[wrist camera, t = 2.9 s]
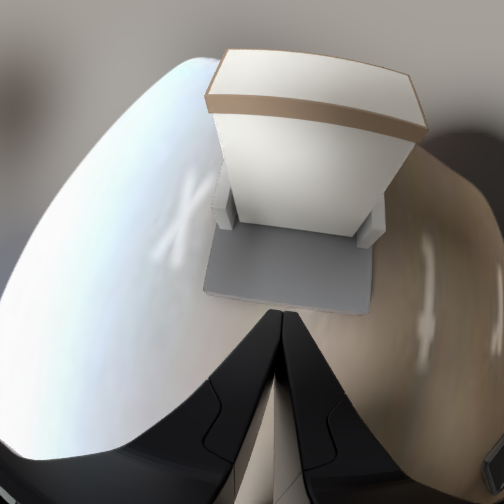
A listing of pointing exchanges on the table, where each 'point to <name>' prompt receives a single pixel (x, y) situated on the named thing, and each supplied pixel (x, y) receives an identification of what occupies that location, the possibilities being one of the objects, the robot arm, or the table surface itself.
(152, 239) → the table surface
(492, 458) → the phone
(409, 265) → the table surface
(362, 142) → the white box
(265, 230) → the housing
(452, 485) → the table surface
